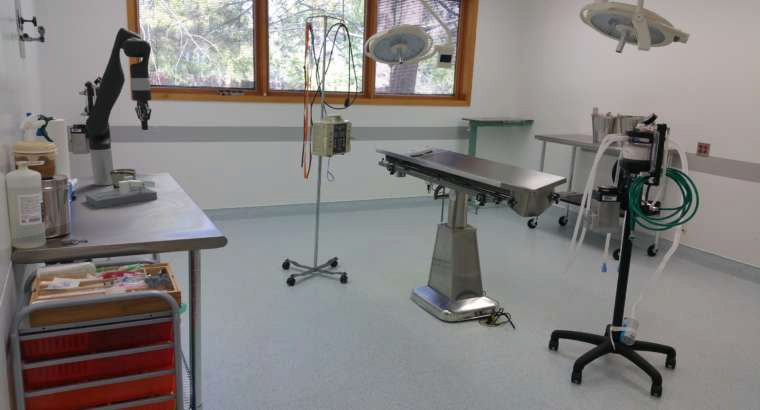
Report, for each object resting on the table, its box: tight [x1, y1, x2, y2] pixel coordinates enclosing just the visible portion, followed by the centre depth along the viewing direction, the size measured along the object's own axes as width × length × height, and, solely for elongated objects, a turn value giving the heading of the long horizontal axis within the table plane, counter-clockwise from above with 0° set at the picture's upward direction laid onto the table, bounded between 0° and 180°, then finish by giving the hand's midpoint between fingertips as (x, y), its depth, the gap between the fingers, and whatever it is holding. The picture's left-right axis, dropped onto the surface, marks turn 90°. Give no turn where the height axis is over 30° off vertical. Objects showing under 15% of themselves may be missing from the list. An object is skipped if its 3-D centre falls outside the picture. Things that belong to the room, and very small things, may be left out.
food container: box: [109, 168, 138, 191], centre depth 248 cm, size 12×6×10 cm, turn 84°
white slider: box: [118, 180, 130, 195], centre depth 227 cm, size 3×3×6 cm
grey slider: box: [123, 176, 134, 189], centre depth 237 cm, size 3×3×6 cm
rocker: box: [128, 179, 156, 188], centre depth 232 cm, size 5×10×2 cm, turn 133°
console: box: [85, 186, 158, 209], centre depth 231 cm, size 15×24×6 cm, turn 133°
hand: (145, 129), depth 234 cm, fingers closed
